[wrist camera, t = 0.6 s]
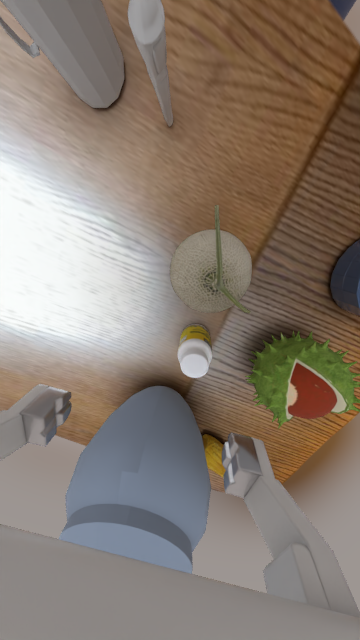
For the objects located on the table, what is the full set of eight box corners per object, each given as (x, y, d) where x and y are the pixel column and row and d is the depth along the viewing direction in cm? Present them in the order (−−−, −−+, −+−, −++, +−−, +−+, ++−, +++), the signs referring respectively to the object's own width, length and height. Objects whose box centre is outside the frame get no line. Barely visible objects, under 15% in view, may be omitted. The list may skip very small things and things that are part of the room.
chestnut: (382, 415, 27) (290, 464, 27) (302, 349, 38) (238, 385, 39) (420, 358, 17) (280, 435, 18) (300, 294, 29) (216, 342, 29)
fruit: (210, 315, 33) (219, 363, 19) (162, 269, 31) (133, 286, 17) (258, 271, 30) (311, 291, 16) (207, 217, 28) (217, 184, 14)
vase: (225, 401, 40) (261, 604, 17) (167, 442, 46) (138, 629, 23) (155, 345, 36) (84, 505, 14) (103, 398, 43) (-3, 567, 20)
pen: (171, 103, 23) (137, -79, 10) (183, 125, 24) (166, -21, 11) (156, 119, 24) (106, -31, 11) (168, 140, 25) (135, 21, 12)
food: (191, 436, 44) (191, 463, 39) (209, 425, 43) (210, 451, 37) (248, 480, 48) (255, 510, 43) (266, 472, 47) (276, 502, 41)
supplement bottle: (215, 332, 34) (222, 363, 25) (199, 353, 36) (199, 388, 27) (191, 317, 33) (188, 342, 24) (175, 339, 35) (168, 370, 26)
